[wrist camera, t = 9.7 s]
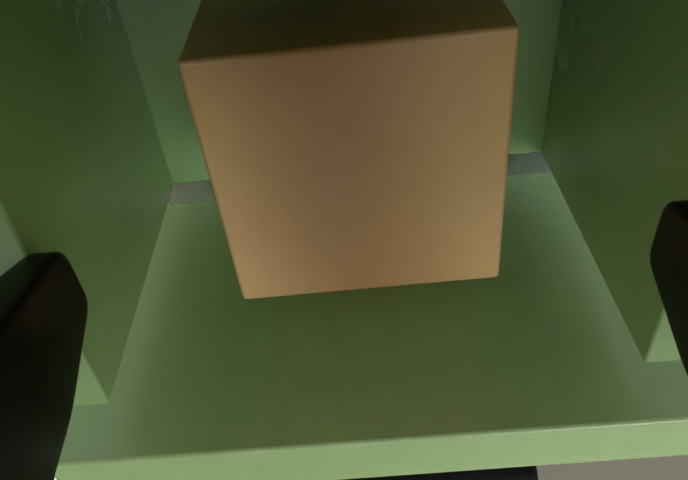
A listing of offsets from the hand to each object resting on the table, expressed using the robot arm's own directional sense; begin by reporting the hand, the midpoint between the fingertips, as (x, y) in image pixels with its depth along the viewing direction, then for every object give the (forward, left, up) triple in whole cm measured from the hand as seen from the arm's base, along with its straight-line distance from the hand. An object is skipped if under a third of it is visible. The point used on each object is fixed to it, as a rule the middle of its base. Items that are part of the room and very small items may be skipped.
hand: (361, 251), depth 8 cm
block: (0, 0, -6) cm, 6 cm away
